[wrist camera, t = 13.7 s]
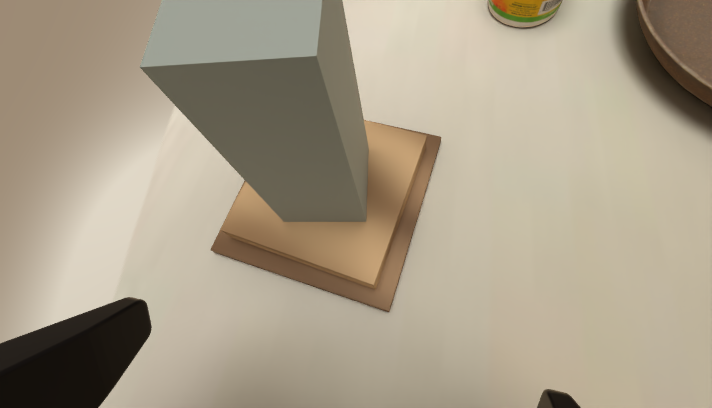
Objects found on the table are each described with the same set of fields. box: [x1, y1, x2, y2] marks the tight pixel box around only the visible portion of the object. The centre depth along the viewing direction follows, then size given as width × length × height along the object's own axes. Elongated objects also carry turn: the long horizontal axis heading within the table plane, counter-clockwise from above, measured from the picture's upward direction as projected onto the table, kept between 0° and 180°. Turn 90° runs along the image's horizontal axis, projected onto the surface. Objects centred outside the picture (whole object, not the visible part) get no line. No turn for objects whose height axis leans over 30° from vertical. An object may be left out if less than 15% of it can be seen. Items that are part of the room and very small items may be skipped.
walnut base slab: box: [211, 121, 441, 312], centre depth 25 cm, size 12×12×2 cm
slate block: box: [140, 0, 369, 222], centre depth 17 cm, size 5×5×13 cm
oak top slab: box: [220, 120, 427, 290], centre depth 23 cm, size 10×10×2 cm
